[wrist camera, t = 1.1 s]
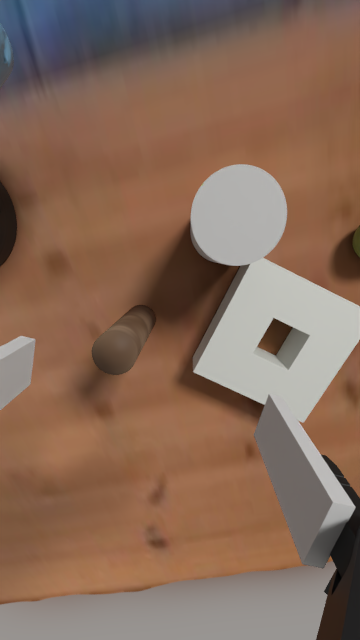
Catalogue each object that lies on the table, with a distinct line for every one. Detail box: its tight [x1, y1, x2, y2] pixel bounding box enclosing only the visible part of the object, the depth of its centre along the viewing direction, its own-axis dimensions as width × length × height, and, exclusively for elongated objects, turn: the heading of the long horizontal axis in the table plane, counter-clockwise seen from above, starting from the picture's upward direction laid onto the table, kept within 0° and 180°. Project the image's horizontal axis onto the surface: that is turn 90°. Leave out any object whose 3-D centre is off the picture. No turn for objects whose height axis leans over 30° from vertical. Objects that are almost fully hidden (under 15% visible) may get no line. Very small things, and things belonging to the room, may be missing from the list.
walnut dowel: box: [92, 305, 156, 375], centre depth 31 cm, size 4×4×14 cm
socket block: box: [193, 258, 360, 423], centre depth 35 cm, size 16×16×5 cm
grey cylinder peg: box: [190, 164, 287, 266], centre depth 28 cm, size 8×8×12 cm
